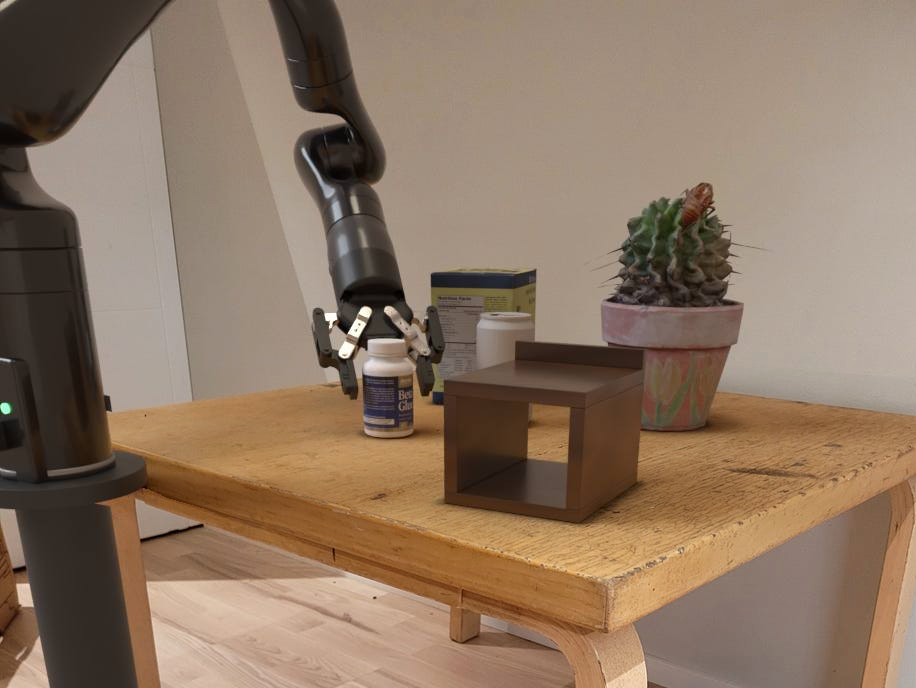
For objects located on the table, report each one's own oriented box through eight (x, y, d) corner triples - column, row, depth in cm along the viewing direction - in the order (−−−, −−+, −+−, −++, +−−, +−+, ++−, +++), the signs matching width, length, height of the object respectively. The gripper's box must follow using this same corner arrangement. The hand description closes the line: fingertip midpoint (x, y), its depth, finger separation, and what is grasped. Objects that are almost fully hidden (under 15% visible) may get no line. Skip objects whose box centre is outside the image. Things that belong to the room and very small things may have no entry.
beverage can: (490, 416, 114) (491, 309, 109) (540, 421, 111) (543, 312, 106) (466, 425, 108) (466, 314, 103) (517, 431, 106) (520, 317, 101)
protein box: (534, 388, 132) (538, 267, 126) (512, 408, 118) (514, 273, 112) (460, 385, 134) (460, 265, 128) (430, 404, 120) (428, 271, 114)
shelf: (578, 523, 74) (586, 370, 70) (444, 502, 79) (443, 358, 75) (636, 482, 86) (646, 348, 81) (515, 467, 91) (518, 339, 86)
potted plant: (656, 400, 124) (673, 187, 113) (775, 427, 109) (807, 184, 98) (544, 414, 114) (552, 183, 104) (657, 446, 100) (679, 180, 89)
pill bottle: (407, 439, 101) (405, 344, 97) (358, 437, 102) (354, 342, 98) (419, 429, 106) (417, 337, 102) (372, 427, 107) (368, 336, 103)
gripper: (301, 245, 101) (326, 374, 96) (432, 244, 105) (463, 369, 100) (297, 294, 108) (320, 418, 102) (421, 292, 112) (449, 411, 106)
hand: (391, 393), depth 101 cm, fingers open, 7 cm apart
